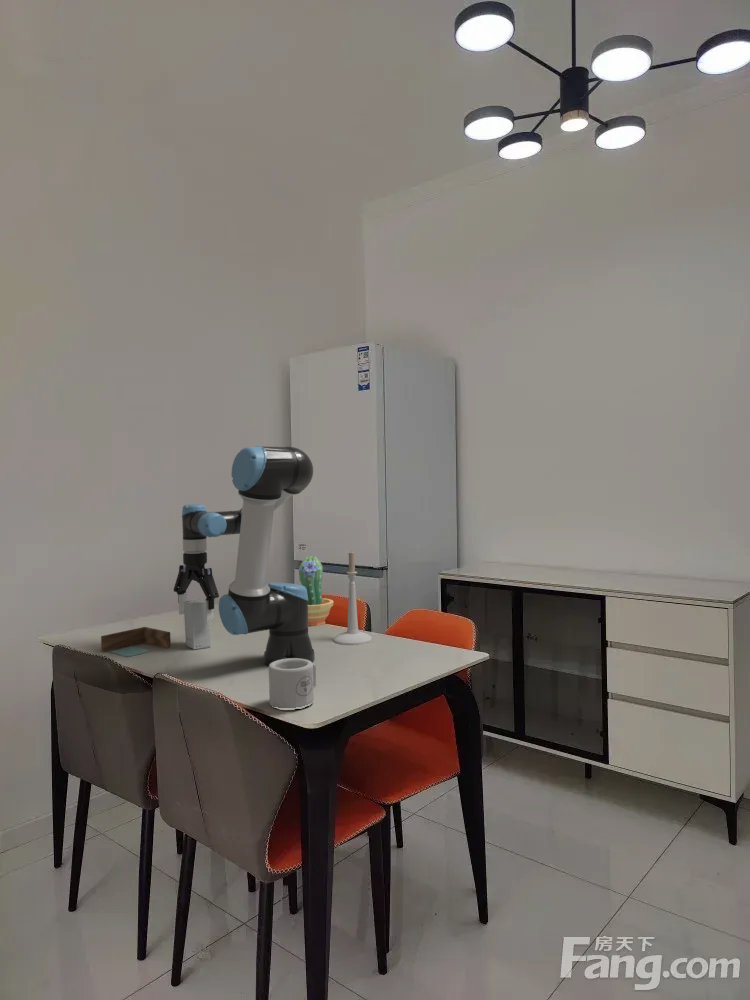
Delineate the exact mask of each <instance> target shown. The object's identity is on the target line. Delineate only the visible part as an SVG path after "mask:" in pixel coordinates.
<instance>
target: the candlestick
mask: <svg viewBox="0 0 750 1000" xmlns="http://www.w3.org/2000/svg"><path fill="white" fill-rule="evenodd" d="M355 553H356V552H355V551H349V552H348V571H347V572H346V574H347V575H348V576H347V578H348V581H349V583H348V609H347V629H346V630H347V631H344V632H341V633H339V634H337V635H336V636H335V637H334V638H333V642H334V643H335V644H337V643H338V644H339V645H345V646H359V645H358V644H361V645H364V644H363V643H366V642H368V641H370V640H371V639H372V640H373V638H372V636H371V635H370V634H368V633H366V632H362V631H359V624H358V609H357V591H356V582H355V580H356V578H357V574H358V571H356V566H355V565H356V563H355V562H356V559H355V558H356V557H355V555H356V554H355ZM366 644H367V643H366Z"/></svg>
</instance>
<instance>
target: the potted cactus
mask: <svg viewBox="0 0 750 1000" xmlns="http://www.w3.org/2000/svg"><path fill="white" fill-rule="evenodd" d="M323 568H324V567H323V564H322V563H321V561H320V560H319V559H318V557H317V555H315V556H312V555H310V556H305V557H304V559H303V560H302V562H301V564H300V566H299V567H298V575H299V577H298V579H299V582H300V585H302V586H304V587H305V588H306V589H307V595H308V627H311V626H313V627H314V626H321V625H320V624H322V625H324V624H326V619H327V617H329V614H330V612H331V609H332V607H333V606H334V604H335V603H334V600H333V599H330V598H325V597H324V598H323V592H322V581H323V573H324V569H323Z"/></svg>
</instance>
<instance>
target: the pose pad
mask: <svg viewBox="0 0 750 1000" xmlns="http://www.w3.org/2000/svg"><path fill="white" fill-rule="evenodd" d="M150 652H151V650H148V649H146V648H145V649H144V648H141V647H138V646H137V647H136V646H134V645H132V646H128V647H124V648H119V649H115V650H111V651H109V653H110V654H115V655H119V656H121V657H125V658H129V657H134V656H135V657H136V656H139V655H142V654H146V653H150Z"/></svg>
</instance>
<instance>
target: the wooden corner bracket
mask: <svg viewBox="0 0 750 1000" xmlns="http://www.w3.org/2000/svg"><path fill="white" fill-rule="evenodd" d="M100 642H101V643H100V645H101V648H100V649H101V652H102V653H106V652H110V651H114V650H118V649H122V648H126V647H131V646H135V645H140V644H149V645H153V646H156V647H157V646H158V647H161V648H166V649H170V648H171V647H172V646H171V645H172V643H171V632H170V631H165V630H162V629H158V628H152V627H147V626H142V627H137V628H132V629H128V630H122V631H120V632H114V633H109V634H106V635H101V636H100Z"/></svg>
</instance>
